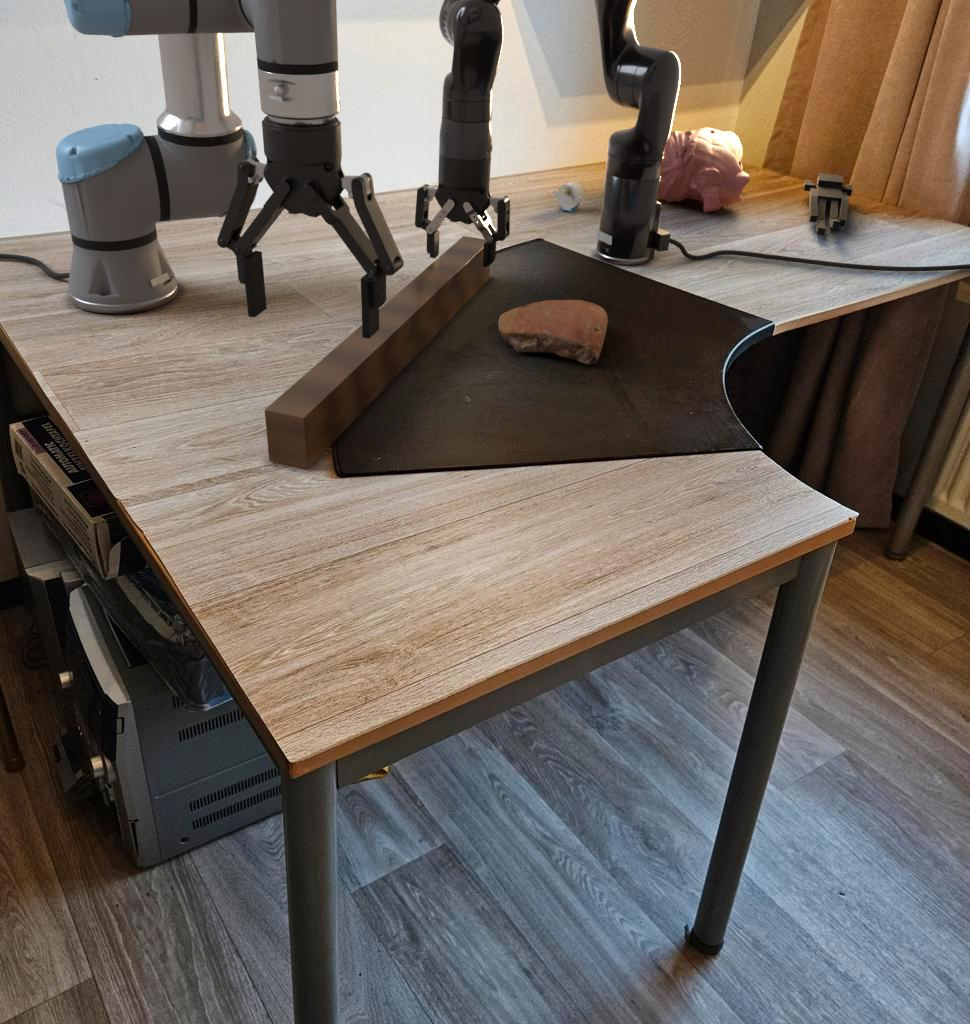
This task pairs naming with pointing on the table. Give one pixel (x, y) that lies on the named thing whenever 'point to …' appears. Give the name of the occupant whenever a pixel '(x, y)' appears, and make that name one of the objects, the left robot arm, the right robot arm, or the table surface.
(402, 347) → the bar
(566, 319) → the ceramic shard
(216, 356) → the table surface
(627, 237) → the right robot arm
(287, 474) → the table surface
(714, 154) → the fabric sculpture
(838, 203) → the toy
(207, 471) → the table surface
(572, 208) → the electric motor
